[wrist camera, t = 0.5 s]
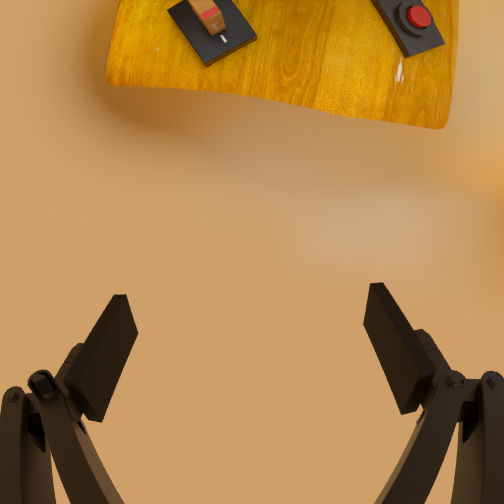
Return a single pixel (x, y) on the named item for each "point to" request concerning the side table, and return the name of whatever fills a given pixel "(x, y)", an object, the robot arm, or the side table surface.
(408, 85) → the side table surface
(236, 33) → the lock plate
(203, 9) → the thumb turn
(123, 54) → the side table surface
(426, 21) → the release button
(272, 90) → the side table surface
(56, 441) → the robot arm
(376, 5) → the box
